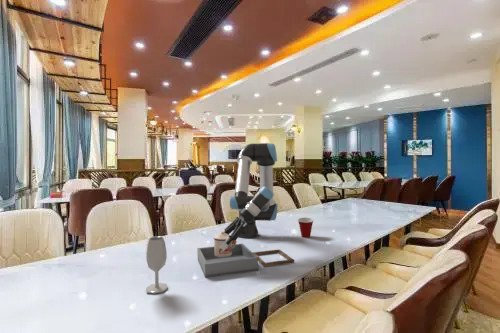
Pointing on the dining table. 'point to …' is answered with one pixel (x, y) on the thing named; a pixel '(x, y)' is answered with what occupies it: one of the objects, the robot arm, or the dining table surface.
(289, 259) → the brown wooden frame
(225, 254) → the teacup with lid
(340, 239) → the dining table surface
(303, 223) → the plastic cup
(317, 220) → the dining table surface
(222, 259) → the bus tub
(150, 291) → the wineglass
